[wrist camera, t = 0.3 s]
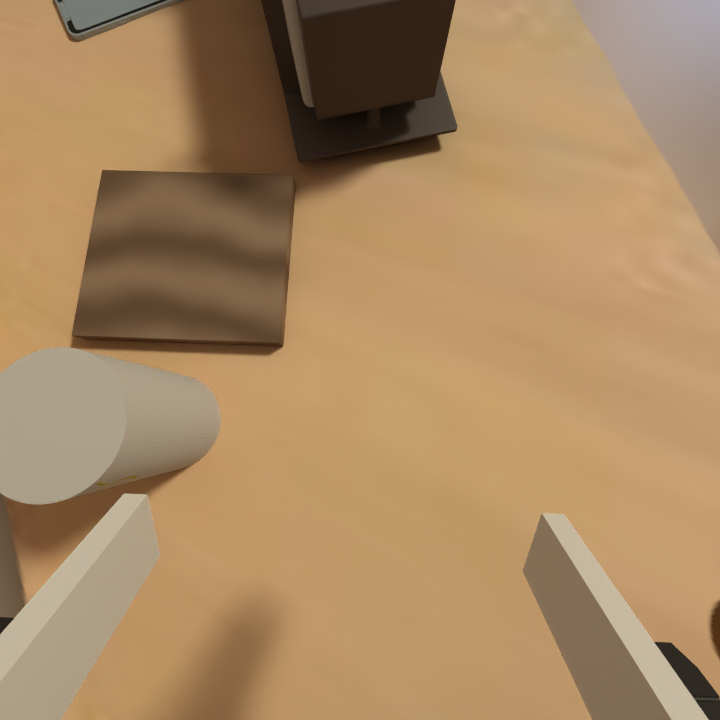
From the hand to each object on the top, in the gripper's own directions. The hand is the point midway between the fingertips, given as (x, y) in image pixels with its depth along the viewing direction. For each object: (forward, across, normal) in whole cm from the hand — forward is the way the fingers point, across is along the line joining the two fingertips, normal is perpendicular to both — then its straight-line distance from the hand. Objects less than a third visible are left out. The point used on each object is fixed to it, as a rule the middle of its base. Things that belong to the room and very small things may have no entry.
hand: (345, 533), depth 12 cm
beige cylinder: (+17, +15, +7) cm, 24 cm away
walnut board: (+25, +16, -6) cm, 30 cm away
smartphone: (+42, +27, -32) cm, 59 cm away
